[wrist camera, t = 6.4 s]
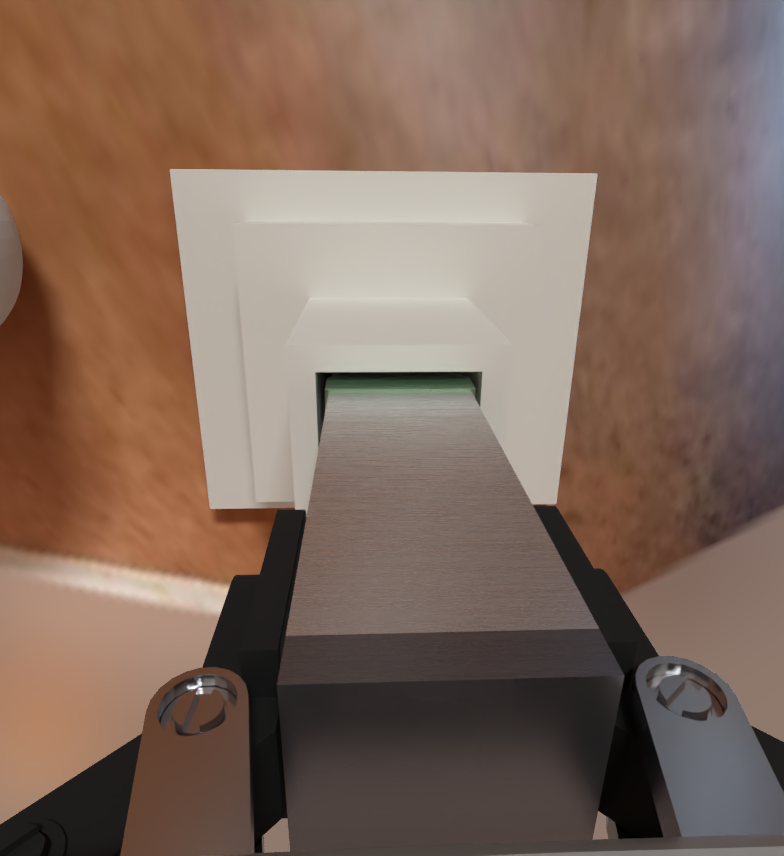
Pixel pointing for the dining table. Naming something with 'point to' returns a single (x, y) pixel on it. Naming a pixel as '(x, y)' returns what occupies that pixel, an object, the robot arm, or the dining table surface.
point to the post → (434, 638)
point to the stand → (376, 307)
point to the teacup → (9, 261)
